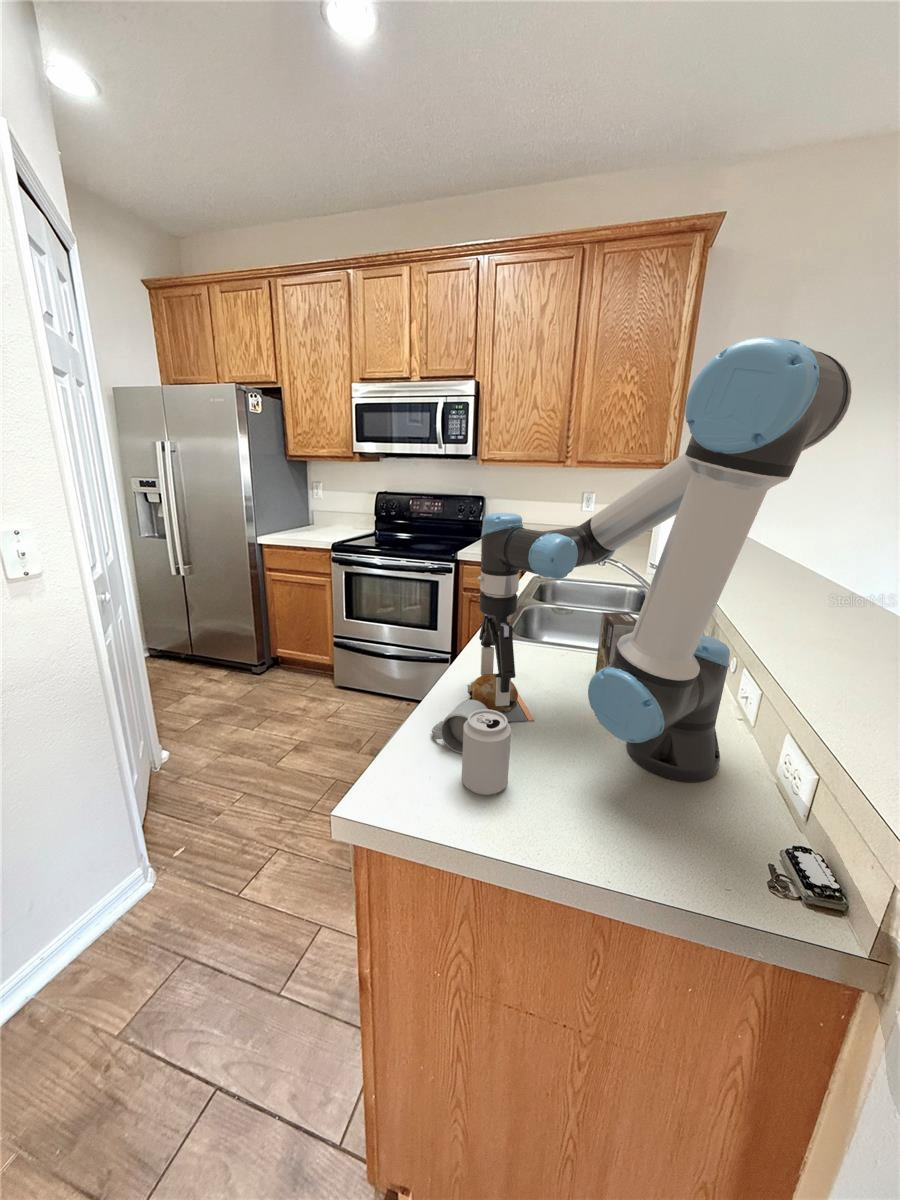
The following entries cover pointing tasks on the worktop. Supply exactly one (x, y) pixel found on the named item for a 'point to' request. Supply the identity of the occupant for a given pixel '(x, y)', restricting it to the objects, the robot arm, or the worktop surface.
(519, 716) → the mat
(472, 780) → the can
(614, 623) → the coffee box
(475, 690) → the bread roll
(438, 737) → the ceramic mug
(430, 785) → the worktop surface
